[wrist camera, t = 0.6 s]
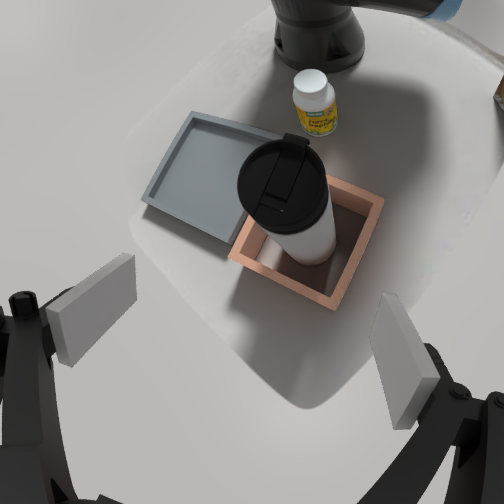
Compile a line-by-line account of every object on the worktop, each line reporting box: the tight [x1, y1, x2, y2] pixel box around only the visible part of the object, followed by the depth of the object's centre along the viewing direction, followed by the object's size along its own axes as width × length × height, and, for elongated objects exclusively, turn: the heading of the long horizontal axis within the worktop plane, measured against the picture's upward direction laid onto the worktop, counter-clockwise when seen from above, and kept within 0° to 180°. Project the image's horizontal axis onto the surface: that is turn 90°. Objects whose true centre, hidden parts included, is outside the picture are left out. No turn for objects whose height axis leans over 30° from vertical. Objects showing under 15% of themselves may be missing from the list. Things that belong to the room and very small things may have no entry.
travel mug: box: [237, 133, 337, 266], centre depth 29 cm, size 6×7×20 cm
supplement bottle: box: [292, 69, 338, 137], centre depth 37 cm, size 5×5×10 cm
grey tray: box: [141, 111, 283, 246], centre depth 44 cm, size 16×16×2 cm
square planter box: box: [228, 174, 385, 311], centre depth 36 cm, size 13×13×6 cm
